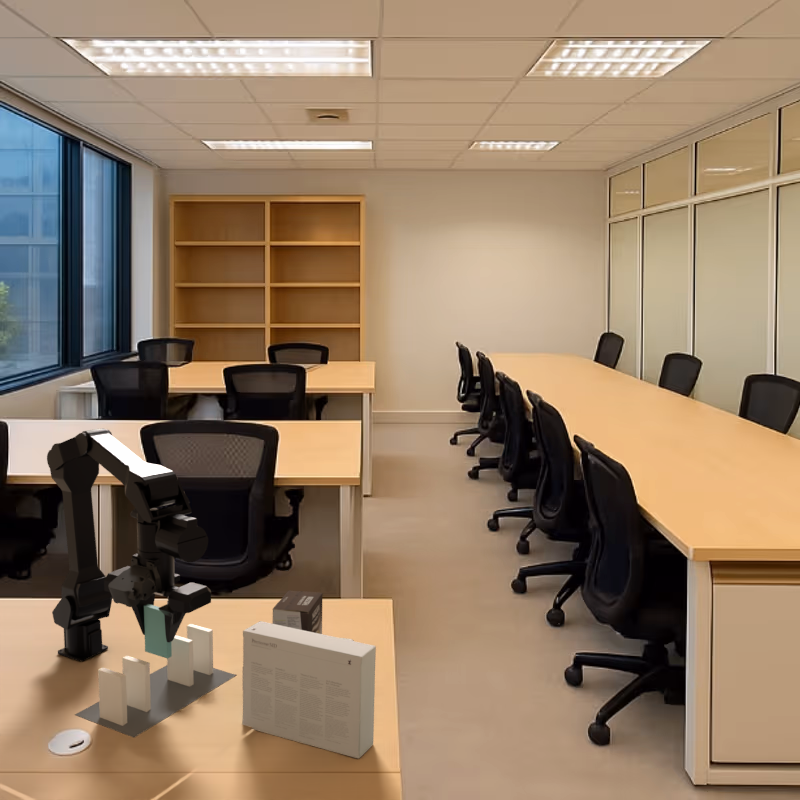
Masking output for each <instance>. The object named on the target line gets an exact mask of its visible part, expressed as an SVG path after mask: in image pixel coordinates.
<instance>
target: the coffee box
mask: <svg viewBox="0 0 800 800" xmlns="http://www.w3.org/2000/svg"><path fill="white" fill-rule="evenodd" d="M323 594H324V593H322V592H317V591H316V592H315V591H299V590H297V591H296V590H287V592H286V593H285V594H284V596H282V598H281V599H280V600H279V601H278V602H277V603H276V604H275V606H274V607H273V608H272V624H276V625H281V626H286V627H290V628H295V629H300V630H304V631H309V632H314V633H318V634H323V596H324V595H323Z"/></svg>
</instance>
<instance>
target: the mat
mask: <svg viewBox="0 0 800 800" xmlns="http://www.w3.org/2000/svg"><path fill="white" fill-rule="evenodd" d="M236 676H237V674H234V673H231V672H228V671H224V670H223V669H222V670H221V669H218V668H215V667H213V673H212V674H211V675H207V674H204V673H201V672H198V671H195V670H193V679H194V684H193V685H192V686H190V687H189V686H186V685H183V684H180V683H177V682H174V681H171V680H168V673H167V664H166V665H164V666H163V667H160V668H159V669H157V670H155V671H153V672H150V698H151V709H150V710H149V711H147V712H145V711H142V710H139V709H137V708H134V707H131V706H128V705H127V723H126V724H125V725H123V726H122V725H119V724H116V723H114V722H111V721H108V720H106V719H103V718H101V717H100V709H99V701H97V702H96V703H94V704H92V705H90V706H88V707H86V708H84V709H82V710H80V711H79V712H77V713H75V714H74V716H77V717H79V718H82V719H84V720H87V721H89V722H92V723H95V724H97V725H100V726H103V727H106V728H108V729H110V730H113V731H116V732H119V733H121V734H122V735H123V734H124V735H126V736H129V737H131V738H136V737H138V736H139V735H141V734H142V733H144V732H146V731H147V730H149V729H150V728H152V727H154V726H155V725H158V724H159V723H160V722H162V721H164V720H165V719H167V718H168V717H169V718H170V716H172V715H174V714H175V713H177V712H179V711H181V710H182V709H184V708H186V707H187V706H188V705H190V704H191V703H194V702H195V701H197V700H198V699H201V698H202V697H204V696H205V695H208V693H210V692H212V691H213V690H215V689H217V688H218V687H221V685H223V684H225V683H227V682H228V681H229V680H230V681H231V680H232V679H233V678H235V677H236Z"/></svg>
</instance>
